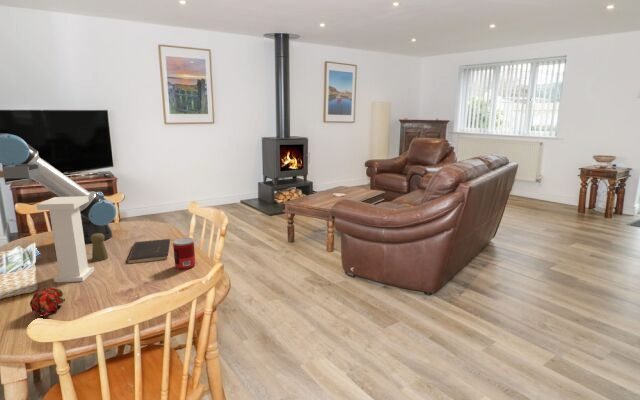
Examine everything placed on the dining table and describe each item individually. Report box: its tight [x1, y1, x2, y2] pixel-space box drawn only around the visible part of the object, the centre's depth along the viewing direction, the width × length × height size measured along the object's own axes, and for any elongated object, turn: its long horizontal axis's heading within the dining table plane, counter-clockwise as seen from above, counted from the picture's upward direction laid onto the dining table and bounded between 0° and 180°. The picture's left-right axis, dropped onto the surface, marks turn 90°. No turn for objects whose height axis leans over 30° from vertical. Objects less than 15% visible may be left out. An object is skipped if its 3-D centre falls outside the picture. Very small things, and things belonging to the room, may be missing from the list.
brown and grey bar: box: [0, 164, 40, 180], centre depth 139 cm, size 22×7×4 cm, turn 98°
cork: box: [90, 233, 109, 262], centre depth 167 cm, size 6×6×11 cm
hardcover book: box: [126, 238, 171, 265], centre depth 176 cm, size 16×23×2 cm
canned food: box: [172, 237, 196, 271], centre depth 159 cm, size 8×8×11 cm
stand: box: [36, 196, 95, 283], centre depth 147 cm, size 12×12×30 cm
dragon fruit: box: [29, 286, 66, 319], centre depth 123 cm, size 8×8×12 cm
